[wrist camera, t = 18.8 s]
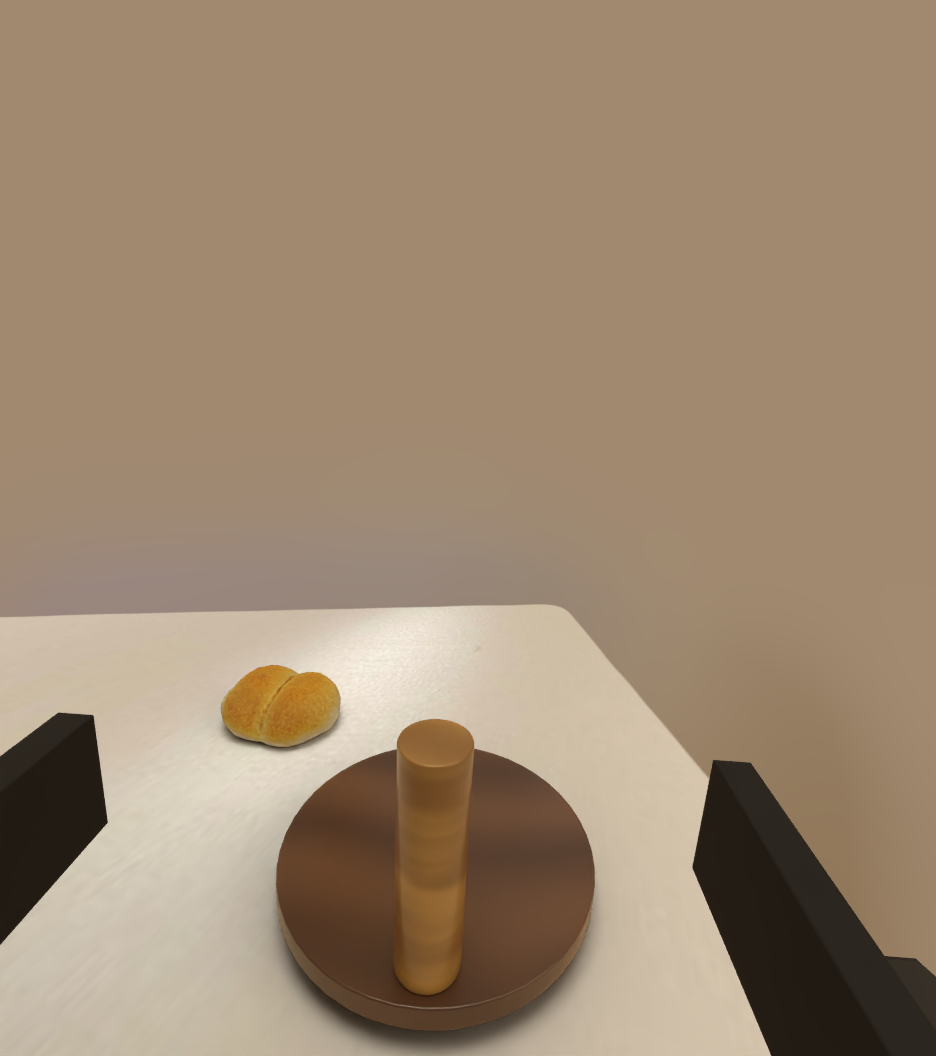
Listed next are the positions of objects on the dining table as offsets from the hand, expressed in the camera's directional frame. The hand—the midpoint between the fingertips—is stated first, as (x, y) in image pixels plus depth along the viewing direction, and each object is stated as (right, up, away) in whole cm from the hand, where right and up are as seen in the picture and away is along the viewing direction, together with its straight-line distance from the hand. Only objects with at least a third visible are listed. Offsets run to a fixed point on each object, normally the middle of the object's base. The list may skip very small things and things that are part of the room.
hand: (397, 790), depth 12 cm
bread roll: (-14, -10, +33) cm, 37 cm away
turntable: (0, -13, +19) cm, 23 cm away
